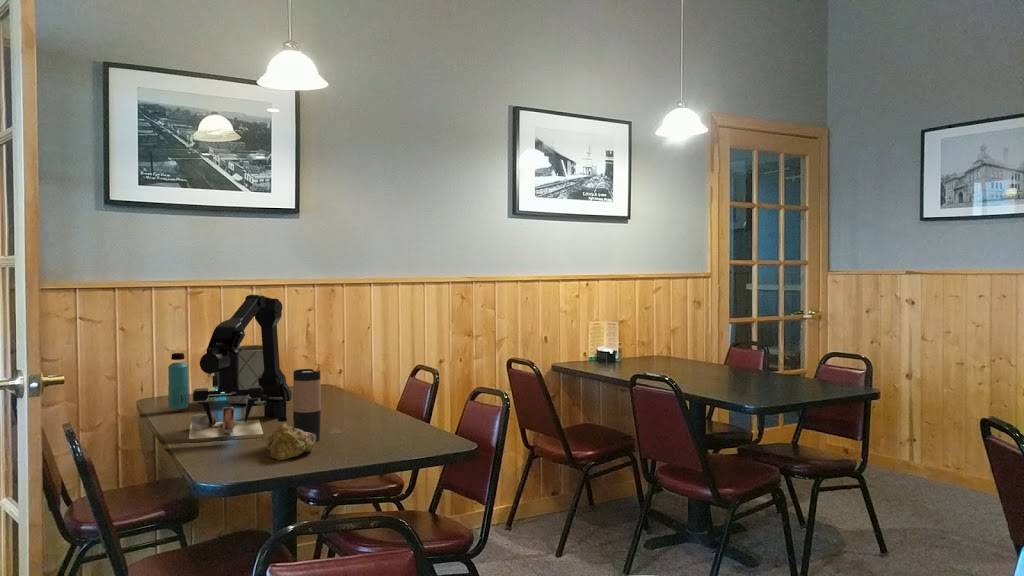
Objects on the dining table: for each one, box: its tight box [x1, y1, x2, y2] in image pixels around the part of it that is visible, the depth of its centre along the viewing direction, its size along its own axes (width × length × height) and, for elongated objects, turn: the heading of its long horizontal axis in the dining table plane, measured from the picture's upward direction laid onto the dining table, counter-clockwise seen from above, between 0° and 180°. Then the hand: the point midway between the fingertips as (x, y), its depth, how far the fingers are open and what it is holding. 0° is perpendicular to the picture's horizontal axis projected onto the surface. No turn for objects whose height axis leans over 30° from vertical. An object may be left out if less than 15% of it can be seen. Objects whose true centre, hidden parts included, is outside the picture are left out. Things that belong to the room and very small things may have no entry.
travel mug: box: [292, 368, 322, 442], centre depth 224 cm, size 8×8×20 cm
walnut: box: [209, 414, 217, 427], centre depth 236 cm, size 4×4×4 cm
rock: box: [266, 422, 317, 461], centre depth 205 cm, size 12×9×10 cm
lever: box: [222, 406, 235, 433], centre depth 232 cm, size 21×3×7 cm, turn 21°
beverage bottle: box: [167, 352, 190, 410], centre depth 266 cm, size 6×7×20 cm
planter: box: [225, 344, 266, 406], centre depth 285 cm, size 19×19×20 cm
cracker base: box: [188, 413, 264, 444], centre depth 233 cm, size 20×22×5 cm
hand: (228, 423), depth 224 cm, fingers open, 9 cm apart
